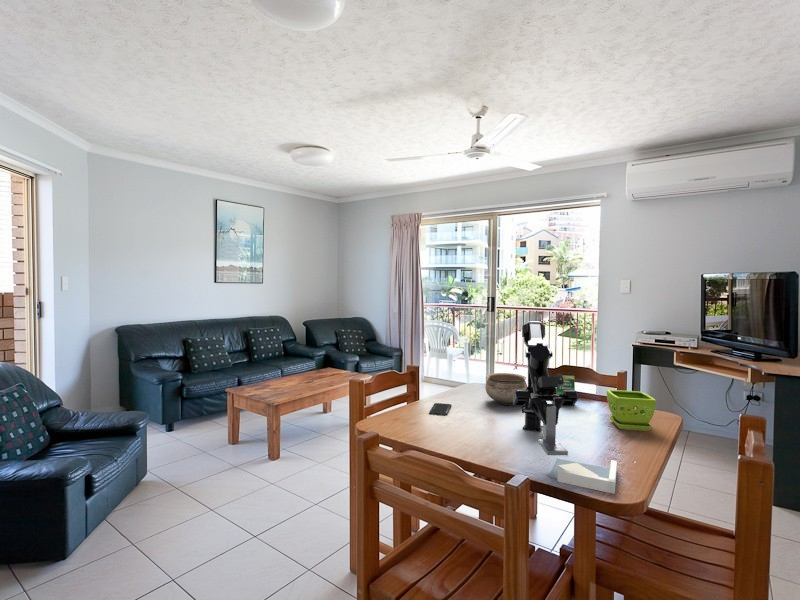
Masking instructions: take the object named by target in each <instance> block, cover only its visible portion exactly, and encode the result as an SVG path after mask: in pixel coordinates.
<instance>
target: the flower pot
mask: <svg viewBox="0 0 800 600" xmlns="http://www.w3.org/2000/svg"><path fill="white" fill-rule="evenodd" d="M606 399H607V400H606V401H607V405H608V408H609V410H610V413H611V415H608V416H609V418H610V421H612V422H613V423H614V425H615V426H616V427H617V428H619V430H627V431H637V430H639V431H640V432H648V431H651V430H652V428H653V426H652V424H650V422H651V421H652V419H653V417H654V413H655V411H656V406H657V405H656V404H657V400H656V399H655V398H654V397H652V396H650V395H649V394H648V393H645V392H644V391H635V390H619V389H607V390H606ZM635 408H636V409H635Z"/></svg>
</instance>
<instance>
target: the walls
mask: <svg viewBox="0 0 800 600" xmlns="http://www.w3.org/2000/svg"><path fill="white" fill-rule="evenodd" d="M609 468H610V473H609V479H607V478H602V477H597V476H592V475H587V474H582V473H577V472H572V471H567V470H562V469H558V479H557V482H558V483H562V484H567V485H573V486H576V487H581V488H586V489H590V490H591V489H592V490H596V491H599V492H600V491H601V492H604V493H608V494H614V495H615V493H616V483H617V474H618V472H617V471H618V470H617V468H618V461H617V460H614V459H613V460H612V459H611V460H610V467H609Z"/></svg>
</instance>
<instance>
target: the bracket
mask: <svg viewBox="0 0 800 600" xmlns="http://www.w3.org/2000/svg"><path fill="white" fill-rule="evenodd" d="M543 411H544V414H545V417H546V422H547V424H546V425H544V423H543V422H542V426H543V428H542V438H541V439H540V438H539V439H538V445H539V446H540V448H541V449H542V450H543V451H544V452H545V454H546V455H547V456H565V457H566V456H567V457H568V456H569V455H568V454H569V451H568V450H567V448H566V447H565V446H564V445H563V444H562V443H561V442H560V441H559V440H558V439H556V437H557V436H556V434H557V433H556V430H557V429H556V427H557V425H556V406H555V405H554V404H552V403H547V404H544V407H543Z"/></svg>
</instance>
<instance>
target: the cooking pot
mask: <svg viewBox="0 0 800 600" xmlns="http://www.w3.org/2000/svg"><path fill="white" fill-rule="evenodd" d="M486 376H487V380H486V383H485V391H486V392H485V393H486V394H487V395H488V397H490V398H491V399H492V400H493V401H496V403H498V404H500V405H504V406H512V405H513V396H514V393H515V391H516V390H526V388H527V387H528V383H527V381H526V380H527V377H526V376H525V375H522V374H516V373H510V372H495V373H489V374H487V375H486ZM513 406H514V405H513Z"/></svg>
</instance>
